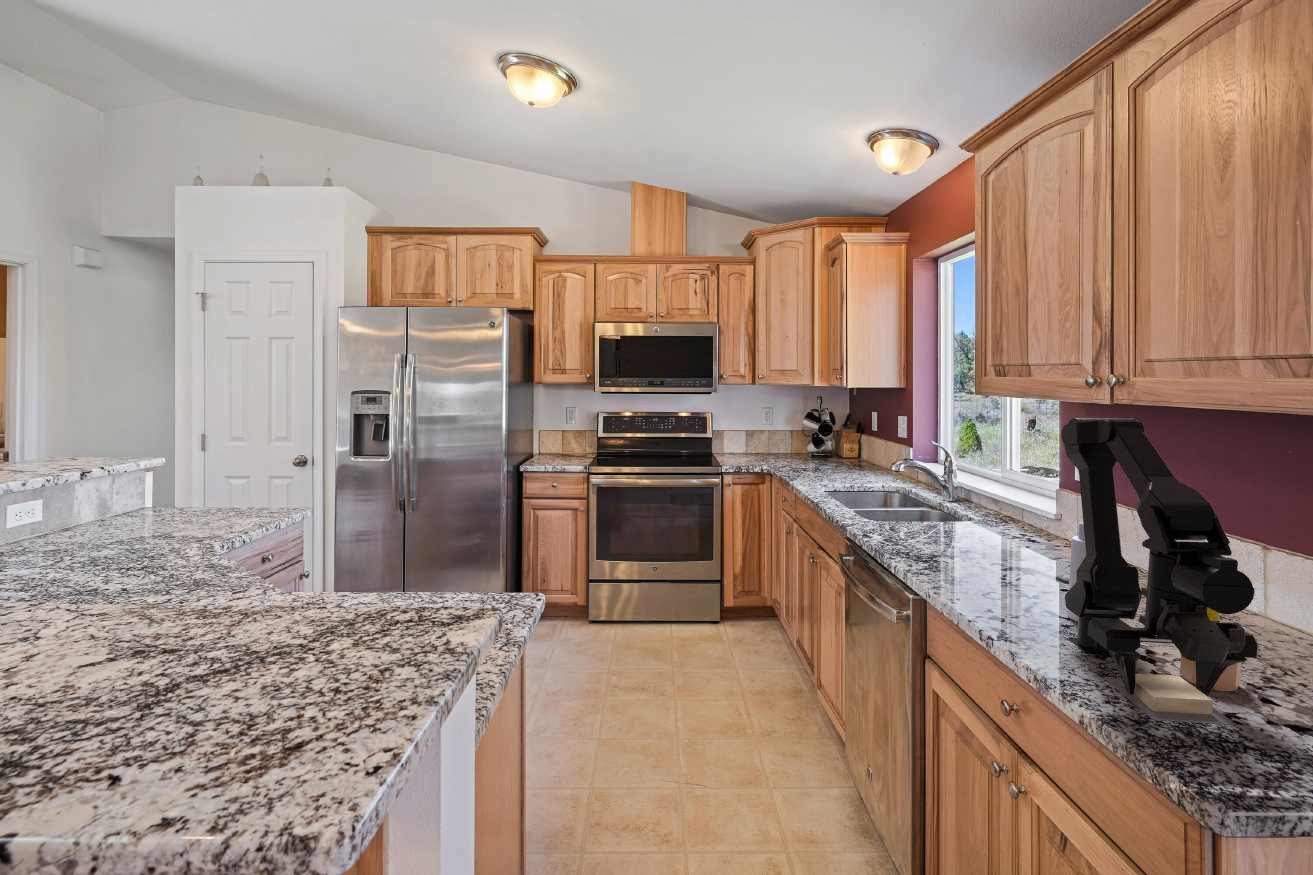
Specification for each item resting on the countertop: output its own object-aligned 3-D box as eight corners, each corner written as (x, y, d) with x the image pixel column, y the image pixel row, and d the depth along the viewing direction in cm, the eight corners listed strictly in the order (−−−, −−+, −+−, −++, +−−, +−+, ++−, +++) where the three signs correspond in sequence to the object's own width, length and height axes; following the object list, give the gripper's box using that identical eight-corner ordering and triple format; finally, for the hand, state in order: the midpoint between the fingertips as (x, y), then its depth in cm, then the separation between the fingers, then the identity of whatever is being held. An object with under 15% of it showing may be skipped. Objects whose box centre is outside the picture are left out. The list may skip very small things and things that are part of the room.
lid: (1122, 685, 95) (1123, 672, 95) (1176, 688, 94) (1177, 675, 94) (1153, 710, 88) (1154, 696, 87) (1211, 714, 87) (1213, 700, 86)
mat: (1103, 680, 97) (1103, 677, 97) (1176, 684, 96) (1176, 681, 96) (1152, 723, 86) (1152, 719, 86) (1236, 728, 84) (1236, 724, 84)
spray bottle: (1062, 619, 122) (1068, 504, 120) (1073, 611, 126) (1079, 500, 124) (1100, 628, 117) (1107, 509, 115) (1109, 619, 121) (1116, 505, 119)
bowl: (1171, 673, 100) (1173, 643, 99) (1217, 675, 99) (1219, 645, 99) (1199, 693, 94) (1202, 661, 93) (1249, 695, 93) (1251, 664, 92)
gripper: (1133, 605, 83) (1126, 721, 84) (1298, 611, 80) (1287, 731, 81) (1088, 578, 94) (1082, 681, 95) (1231, 583, 91) (1223, 688, 92)
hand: (1165, 695), depth 91 cm, fingers open, 9 cm apart
